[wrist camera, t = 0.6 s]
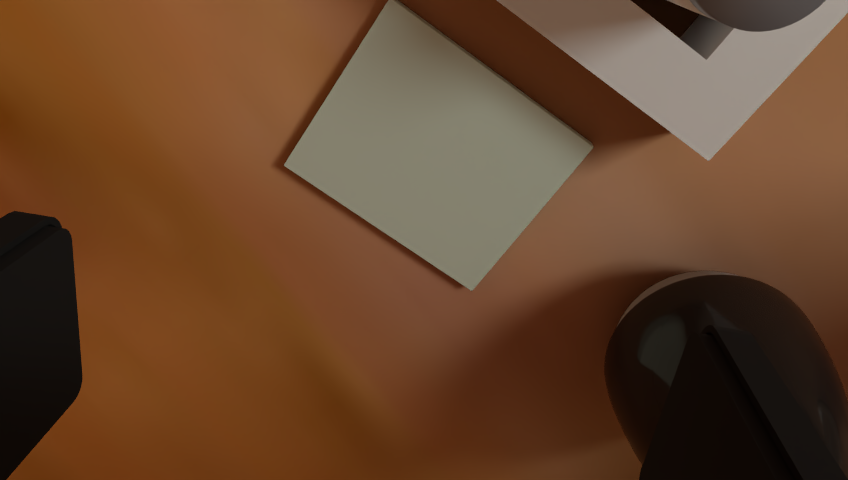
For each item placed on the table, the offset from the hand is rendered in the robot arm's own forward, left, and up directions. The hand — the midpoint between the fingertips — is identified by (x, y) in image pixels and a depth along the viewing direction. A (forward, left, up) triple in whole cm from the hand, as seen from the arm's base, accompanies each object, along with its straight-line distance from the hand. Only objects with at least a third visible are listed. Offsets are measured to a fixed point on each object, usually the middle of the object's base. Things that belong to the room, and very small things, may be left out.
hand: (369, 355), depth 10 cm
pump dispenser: (-19, +4, -26) cm, 32 cm away
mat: (-2, +4, -25) cm, 26 cm away
